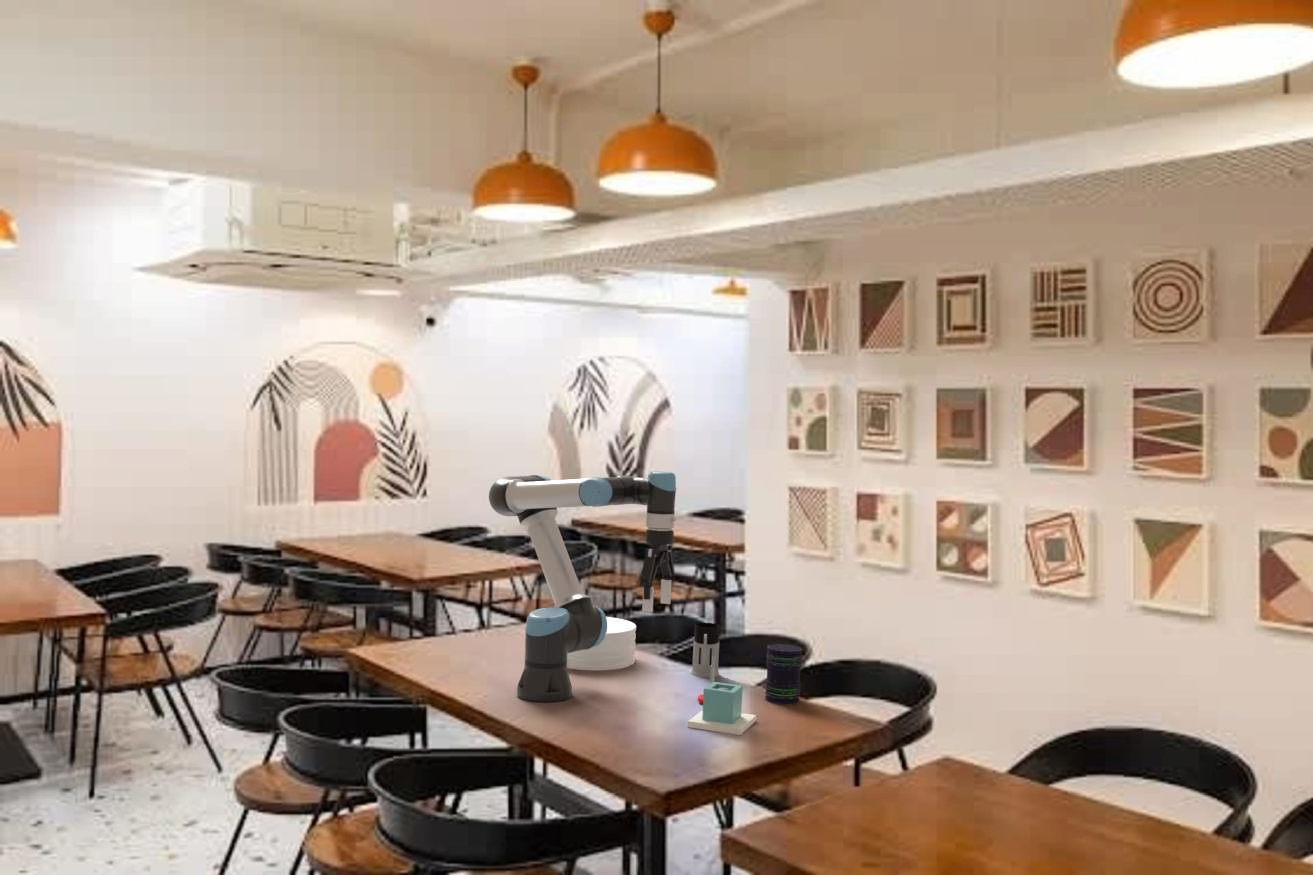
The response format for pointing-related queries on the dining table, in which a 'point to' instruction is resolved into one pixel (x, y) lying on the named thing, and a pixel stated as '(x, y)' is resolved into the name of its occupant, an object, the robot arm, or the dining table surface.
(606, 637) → the plate stack
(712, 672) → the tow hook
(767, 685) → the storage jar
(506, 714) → the dining table surface
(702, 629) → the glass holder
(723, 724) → the post stand
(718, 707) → the sleeve
